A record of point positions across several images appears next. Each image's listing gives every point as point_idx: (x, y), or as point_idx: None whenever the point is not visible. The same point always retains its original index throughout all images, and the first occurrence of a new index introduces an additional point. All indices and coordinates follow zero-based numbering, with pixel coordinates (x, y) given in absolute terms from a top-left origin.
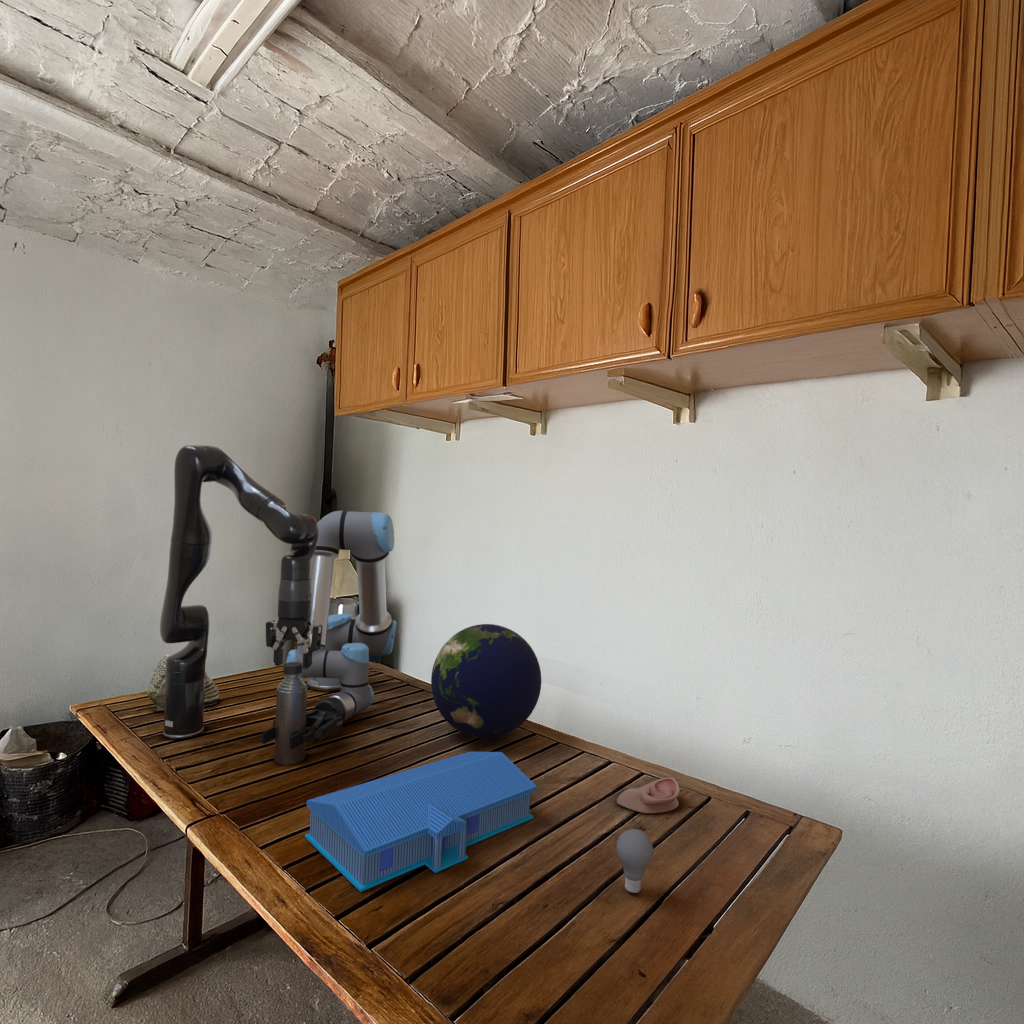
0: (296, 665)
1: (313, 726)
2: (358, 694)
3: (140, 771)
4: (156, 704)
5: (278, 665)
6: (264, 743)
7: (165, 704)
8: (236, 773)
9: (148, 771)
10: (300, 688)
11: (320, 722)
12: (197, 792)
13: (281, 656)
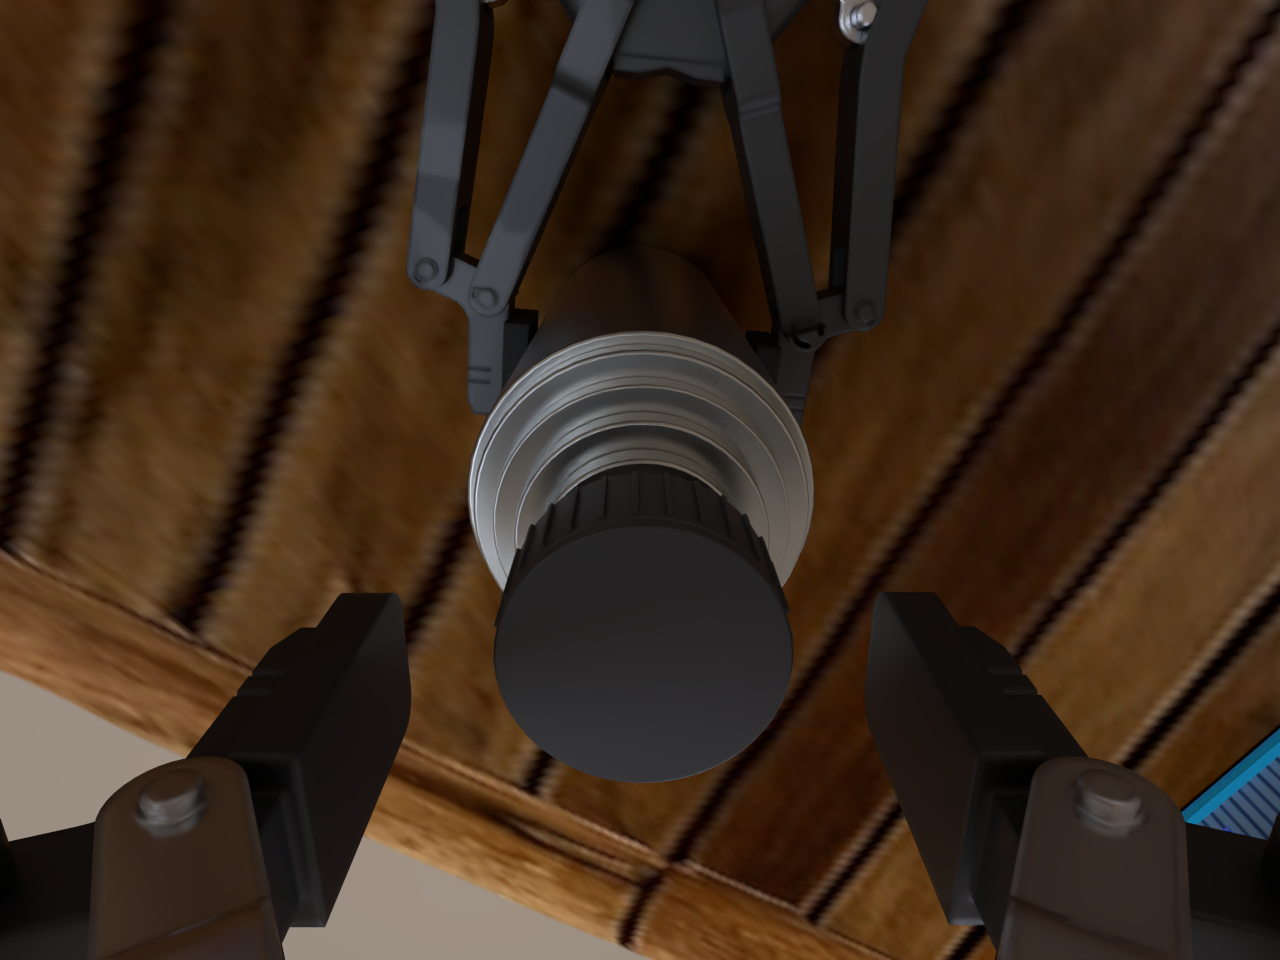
0: (737, 705)
1: (815, 347)
2: None
3: (55, 688)
4: None
5: (410, 696)
6: None
7: None
8: (486, 577)
9: (88, 678)
10: (789, 575)
11: (793, 175)
12: (463, 767)
13: (358, 709)
